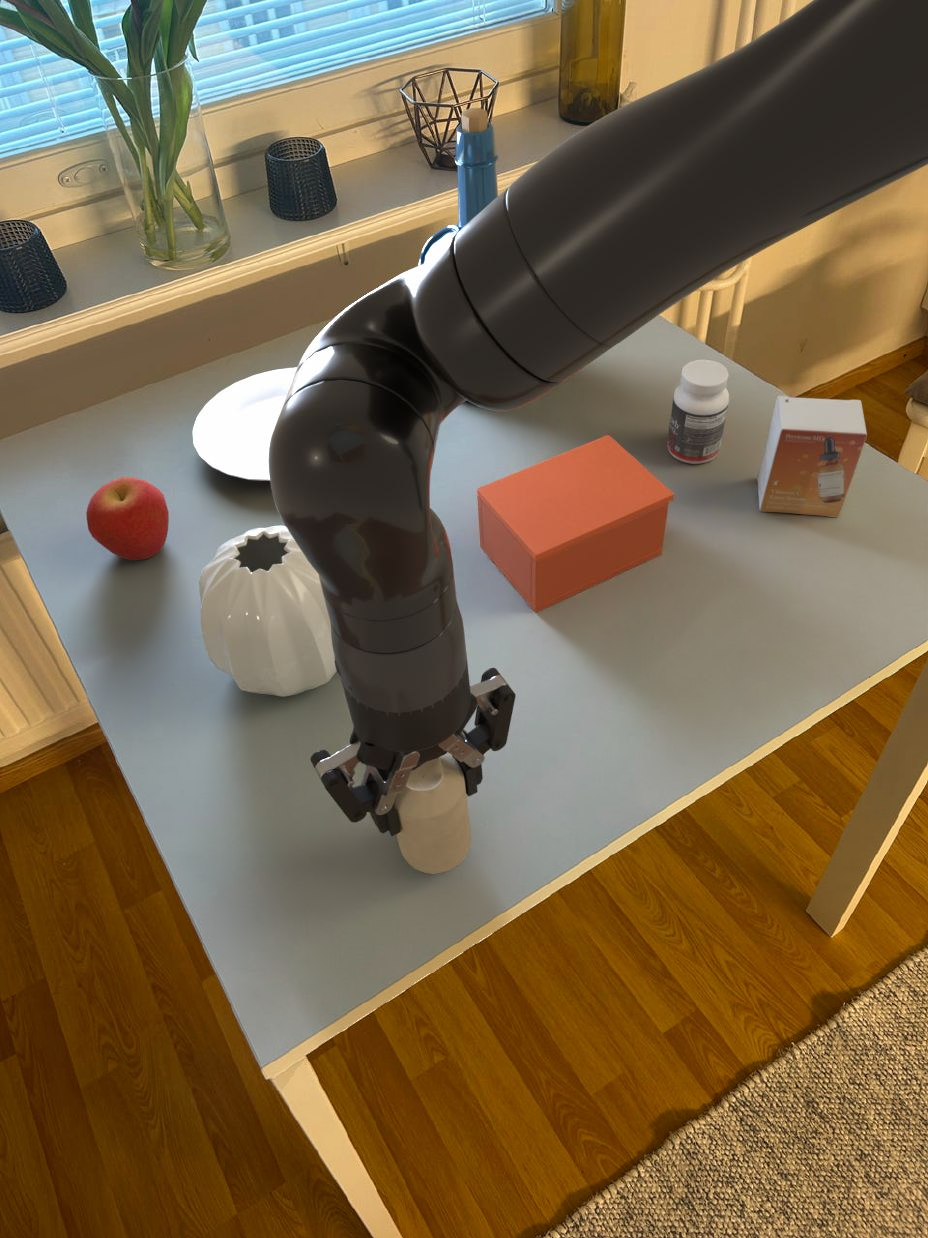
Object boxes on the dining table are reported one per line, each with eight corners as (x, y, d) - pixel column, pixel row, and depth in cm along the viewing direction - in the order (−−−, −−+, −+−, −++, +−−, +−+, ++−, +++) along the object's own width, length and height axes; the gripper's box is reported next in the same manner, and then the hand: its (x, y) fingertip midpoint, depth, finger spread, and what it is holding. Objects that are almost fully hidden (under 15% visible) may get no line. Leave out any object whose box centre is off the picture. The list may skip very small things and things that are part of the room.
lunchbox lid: (608, 440, 93) (608, 434, 93) (673, 500, 87) (674, 493, 86) (476, 494, 89) (476, 488, 88) (535, 561, 83) (535, 555, 82)
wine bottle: (511, 333, 119) (506, 76, 97) (559, 386, 111) (566, 119, 89) (412, 362, 116) (383, 104, 94) (454, 419, 108) (433, 152, 86)
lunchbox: (600, 494, 98) (603, 442, 93) (661, 554, 92) (669, 502, 87) (479, 546, 94) (476, 495, 89) (535, 613, 88) (535, 562, 83)
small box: (758, 513, 95) (778, 428, 87) (756, 477, 99) (775, 393, 91) (840, 518, 94) (869, 434, 86) (835, 482, 97) (862, 398, 90)
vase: (223, 608, 90) (185, 504, 80) (366, 593, 91) (346, 488, 81) (210, 724, 81) (165, 623, 71) (370, 708, 81) (347, 605, 71)
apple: (95, 575, 94) (66, 518, 88) (114, 522, 100) (88, 465, 94) (171, 572, 94) (147, 514, 88) (186, 519, 99) (164, 461, 93)
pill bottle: (666, 431, 104) (676, 354, 97) (718, 434, 104) (732, 356, 96) (666, 464, 101) (677, 387, 93) (720, 467, 100) (735, 389, 93)
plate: (412, 444, 105) (410, 428, 104) (244, 522, 98) (239, 506, 97) (324, 363, 117) (321, 347, 116) (169, 427, 110) (163, 411, 109)
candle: (437, 796, 74) (424, 723, 66) (486, 840, 71) (479, 769, 63) (384, 842, 71) (365, 772, 64) (434, 889, 69) (420, 822, 61)
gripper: (314, 758, 50) (360, 895, 63) (541, 648, 54) (542, 798, 67) (264, 665, 55) (317, 811, 67) (477, 570, 59) (489, 724, 71)
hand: (429, 804), depth 67 cm, fingers closed on candle, 5 cm apart
